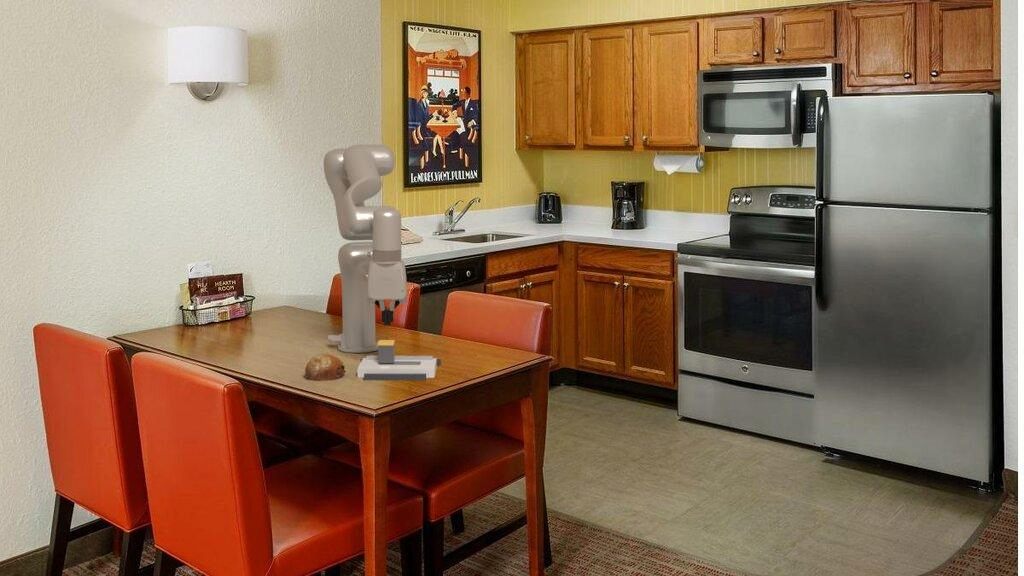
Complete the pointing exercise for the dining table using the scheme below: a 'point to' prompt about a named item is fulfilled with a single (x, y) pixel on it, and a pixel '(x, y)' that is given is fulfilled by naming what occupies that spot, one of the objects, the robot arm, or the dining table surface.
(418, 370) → the base
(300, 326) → the dining table surface
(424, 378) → the dark grey plate
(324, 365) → the bread roll
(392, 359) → the breaker lever
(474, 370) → the dining table surface
